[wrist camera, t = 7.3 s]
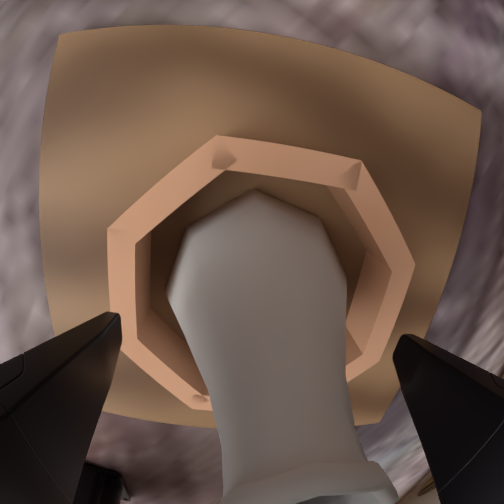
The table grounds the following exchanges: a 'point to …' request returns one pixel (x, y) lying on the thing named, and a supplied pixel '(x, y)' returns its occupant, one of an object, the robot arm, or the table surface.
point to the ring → (272, 164)
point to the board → (234, 182)
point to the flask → (273, 354)
